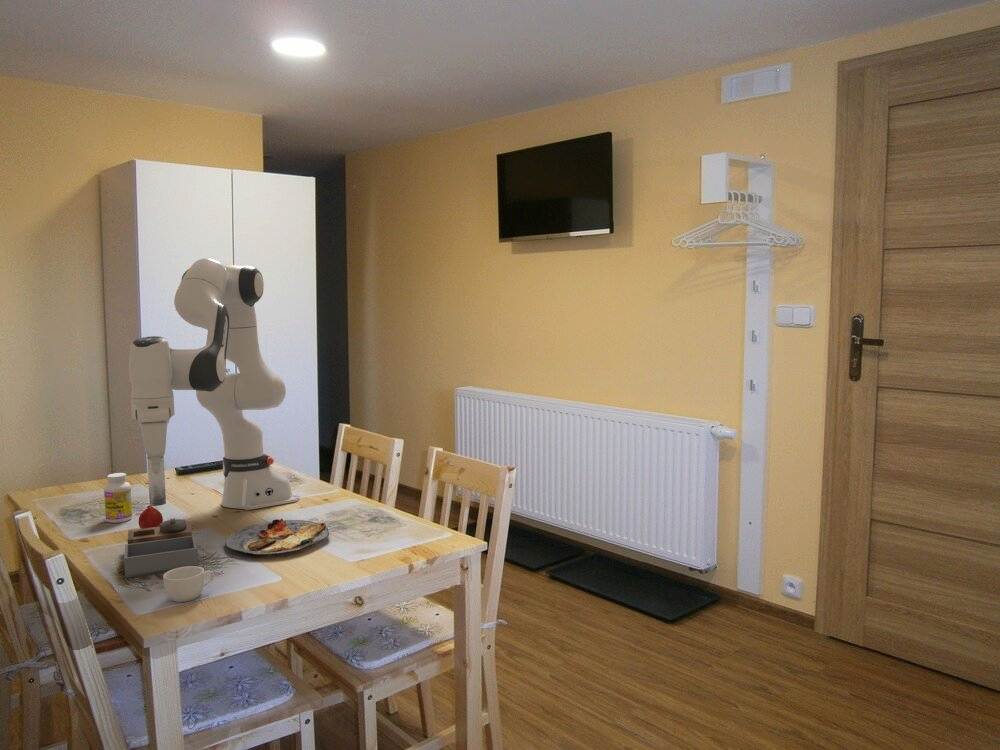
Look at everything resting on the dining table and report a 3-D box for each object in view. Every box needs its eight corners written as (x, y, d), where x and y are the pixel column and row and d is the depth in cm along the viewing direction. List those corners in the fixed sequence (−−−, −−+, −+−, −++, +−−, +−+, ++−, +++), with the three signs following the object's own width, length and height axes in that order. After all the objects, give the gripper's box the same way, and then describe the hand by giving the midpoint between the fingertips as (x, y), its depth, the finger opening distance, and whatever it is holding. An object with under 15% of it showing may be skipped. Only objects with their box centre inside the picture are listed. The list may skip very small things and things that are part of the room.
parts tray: (195, 553, 182) (194, 535, 182) (198, 567, 173) (197, 548, 172) (126, 563, 176) (125, 544, 175) (125, 578, 166) (124, 558, 166)
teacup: (172, 609, 150) (170, 582, 150) (159, 597, 156) (157, 572, 155) (221, 595, 157) (220, 570, 156) (207, 585, 163) (206, 560, 162)
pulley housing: (191, 541, 191) (189, 512, 190) (192, 551, 183) (191, 521, 183) (129, 550, 185) (127, 520, 184) (128, 560, 177) (126, 529, 177)
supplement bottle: (101, 523, 206) (97, 477, 205) (113, 516, 213) (110, 471, 211) (125, 523, 206) (122, 477, 205) (137, 516, 213) (134, 471, 211)
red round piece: (139, 532, 198) (138, 503, 197) (163, 529, 200) (162, 500, 200) (138, 539, 193) (137, 508, 192) (163, 536, 195) (161, 506, 194)
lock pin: (165, 501, 175) (163, 450, 174) (166, 504, 172) (163, 453, 171) (149, 502, 173) (146, 451, 172) (149, 506, 170) (146, 454, 169)
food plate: (279, 522, 206) (279, 509, 206) (347, 535, 196) (346, 522, 195) (206, 552, 184) (205, 538, 184) (277, 569, 174) (277, 554, 173)
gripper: (137, 403, 178) (141, 461, 180) (137, 416, 160) (140, 480, 161) (166, 402, 181) (169, 458, 182) (169, 414, 163) (172, 477, 164)
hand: (156, 469), depth 172 cm, fingers closed on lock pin, 3 cm apart
